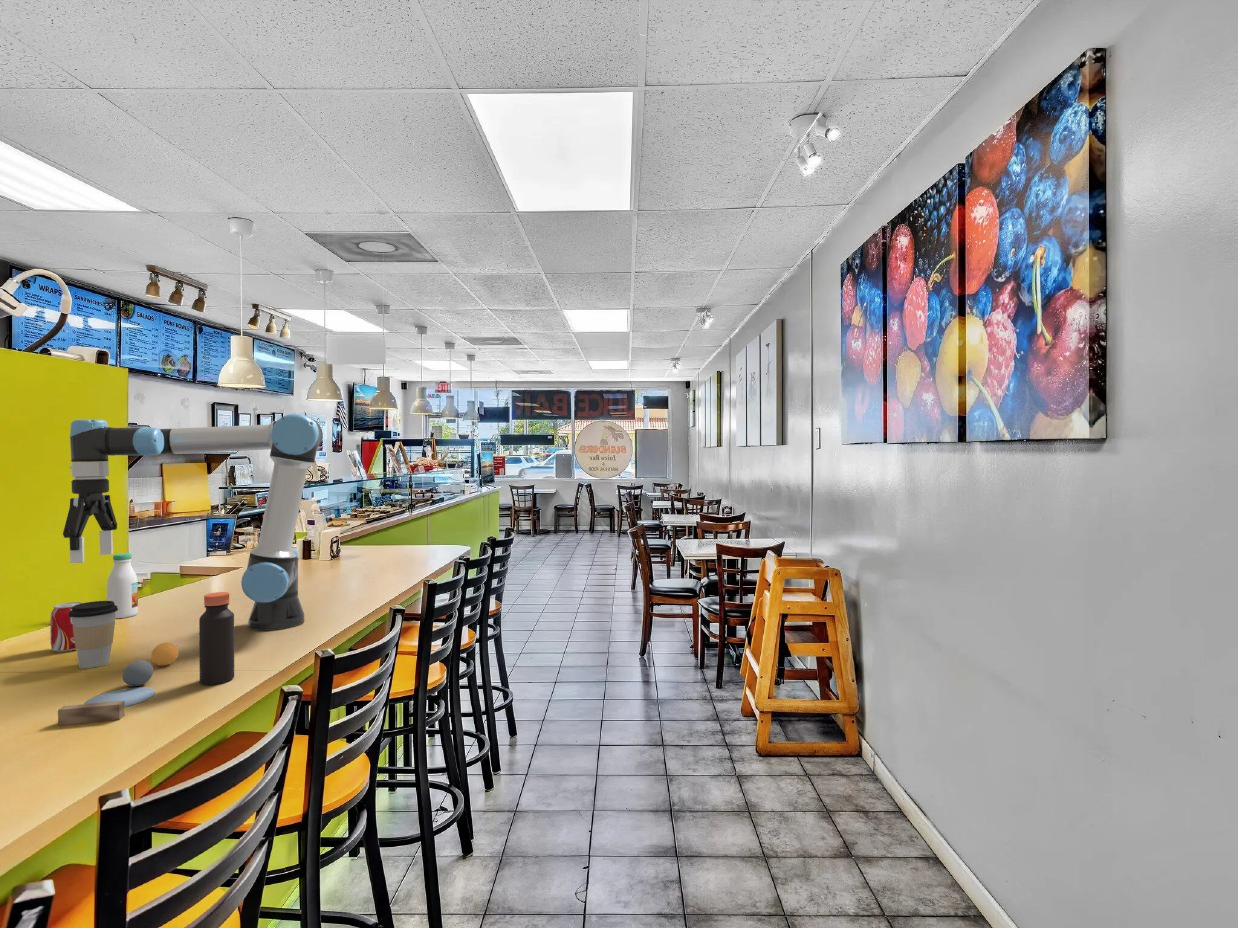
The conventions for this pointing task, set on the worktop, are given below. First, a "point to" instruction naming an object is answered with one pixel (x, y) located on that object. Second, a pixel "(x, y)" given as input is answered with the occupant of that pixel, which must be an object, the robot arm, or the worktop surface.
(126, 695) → the mark
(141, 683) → the ball
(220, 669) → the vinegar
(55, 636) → the soda can
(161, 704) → the worktop surface
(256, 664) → the worktop surface
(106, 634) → the coffee cup
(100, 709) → the brown wooden block
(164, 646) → the ball
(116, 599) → the milk bottle
